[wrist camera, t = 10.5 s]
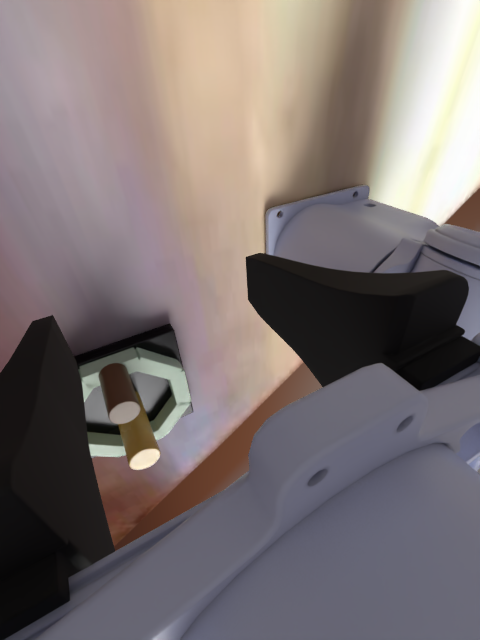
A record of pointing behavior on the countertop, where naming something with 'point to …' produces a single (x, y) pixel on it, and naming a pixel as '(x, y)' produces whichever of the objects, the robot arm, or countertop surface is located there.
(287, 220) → the robot arm
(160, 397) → the peg stand
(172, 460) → the countertop surface
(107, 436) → the ring
